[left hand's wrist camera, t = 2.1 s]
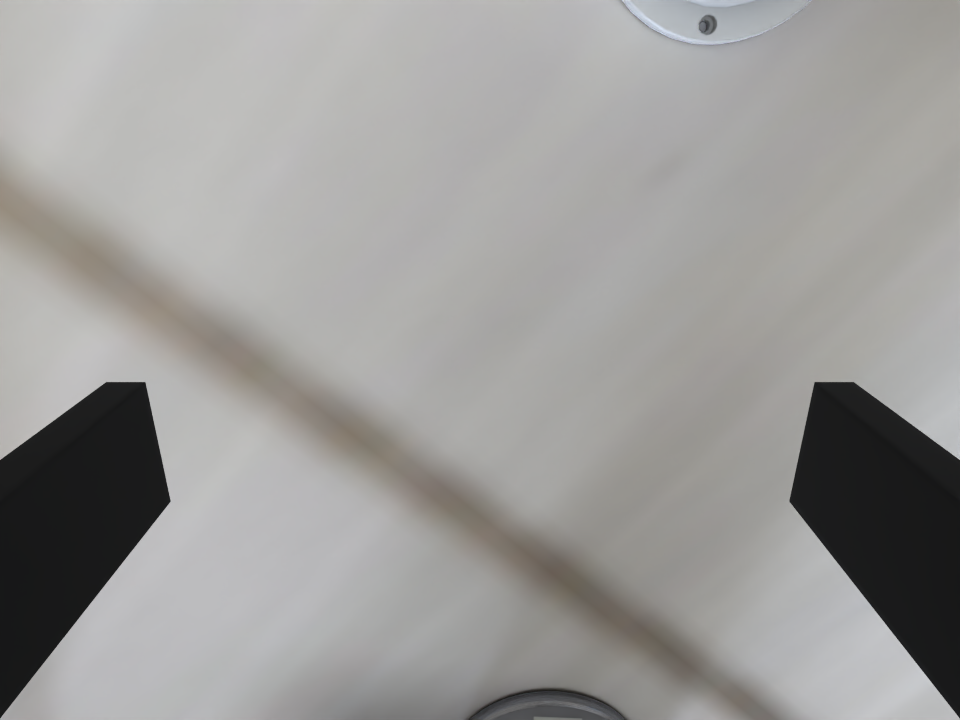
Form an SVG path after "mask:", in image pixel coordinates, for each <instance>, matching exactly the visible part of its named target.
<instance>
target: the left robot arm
mask: <svg viewBox="0 0 960 720" xmlns="http://www.w3.org/2000/svg"><path fill="white" fill-rule="evenodd" d="M169 503H170V497H169V492H168V487H167V482H166V478H165V473H164V468H163V463H162V459H161V454H160V449H159V445H158V440H157V435H156V430H155V426H154V421H153V416H152V411H151V407H150V402H149V397H148V393H147V388H146V383H145V382H106V383H105V384H103V385H102V386H100V387H99V388H98V389H96V390H95V391H94V392H92V393H91V394H90V395H88V396H87V397H86V398H84V399H83V400H81V401H80V402H79V403H77V404H76V405H75V406H73V407H72V408H71V409H69V410H68V411H66V412H65V413H64V414H62V415H61V416H60V417H58V418H57V419H56V420H54V421H53V422H51V423H50V424H49V425H47V426H46V427H45V428H43V429H42V430H41V431H39V432H38V433H37V434H35V435H34V436H32V437H31V438H30V439H28V440H27V441H26V442H24V443H23V444H22V445H20V446H19V447H17V448H16V449H15V450H13V451H12V452H11V453H9V454H8V455H7V456H5V457H4V458H2V459H1V460H0V718H1V716H2V715H3V714H4V713H5V711H6V710H7V709H8V708H9V706H10V705H11V704H12V702H13V701H14V700H15V699H16V697H17V696H18V695H19V694H20V692H21V691H22V690H23V688H24V687H25V686H26V685H27V683H28V682H29V681H30V680H31V678H32V677H33V676H34V675H35V673H36V672H37V671H38V669H39V668H40V667H41V666H42V664H43V663H44V662H45V661H46V659H47V658H48V657H49V655H50V654H51V653H52V652H53V650H54V649H55V648H56V647H57V645H58V644H59V643H60V641H61V640H62V639H63V638H64V636H65V635H66V634H67V633H68V631H69V630H70V629H71V627H72V626H73V625H74V624H75V622H76V621H77V620H78V619H79V617H80V616H81V615H82V613H83V612H84V611H85V610H86V608H87V607H88V606H89V605H90V603H91V602H92V601H93V599H94V598H95V597H96V596H97V594H98V593H99V592H100V591H101V589H102V588H103V587H104V585H105V584H106V583H107V582H108V580H109V579H110V578H111V577H112V575H113V574H114V573H115V571H116V570H117V569H118V568H119V566H120V565H121V564H122V563H123V561H124V560H125V559H126V557H127V556H128V555H129V554H130V552H131V551H132V550H133V549H134V547H135V546H136V545H137V543H138V542H139V541H140V540H141V538H142V537H143V536H144V535H145V533H146V532H147V531H148V529H149V528H150V527H151V526H152V524H153V523H154V522H155V521H156V519H157V518H158V517H159V515H160V514H161V513H162V512H163V510H164V509H165V508H166V507H167V505H168V504H169ZM790 503H791V504H792V505H793V507H794V508H795V509H796V510H797V512H798V513H799V514H800V515H801V517H802V518H803V519H804V521H805V522H806V523H807V524H808V526H809V527H810V528H811V529H812V531H813V532H814V533H815V535H816V536H817V537H818V538H819V540H820V541H821V542H822V543H823V545H824V546H825V547H826V549H827V550H828V551H829V552H830V554H831V555H832V556H833V557H834V559H835V560H836V561H837V563H838V564H839V565H840V566H841V568H842V569H843V570H844V571H845V573H846V574H847V575H848V577H849V578H850V579H851V580H852V582H853V583H854V584H855V585H856V587H857V588H858V589H859V591H860V592H861V593H862V594H863V596H864V597H865V598H866V599H867V601H868V602H869V603H870V605H871V606H872V607H873V608H874V610H875V611H876V612H877V613H878V615H879V616H880V617H881V619H882V620H883V621H884V622H885V624H886V625H887V626H888V627H889V629H890V630H891V631H892V633H893V634H894V635H895V636H896V638H897V639H898V640H899V641H900V643H901V644H902V645H903V647H904V648H905V649H906V650H907V652H908V653H909V654H910V655H911V657H912V658H913V659H914V661H915V662H916V663H917V664H918V666H919V667H920V668H921V669H922V671H923V672H924V673H925V675H926V676H927V677H928V678H929V680H930V681H931V682H932V683H933V685H934V686H935V687H936V688H937V690H938V691H939V692H940V694H941V695H942V696H943V697H944V699H945V700H946V701H947V702H948V704H949V705H950V706H951V708H952V709H953V710H954V711H955V713H956V714H957V715H958V716H959V718H960V460H959V459H958V458H956V457H955V456H953V455H952V454H951V453H949V452H948V451H947V450H945V449H944V448H943V447H941V446H940V445H938V444H937V443H936V442H934V441H933V440H932V439H930V438H929V437H928V436H926V435H925V434H923V433H922V432H921V431H919V430H918V429H917V428H915V427H914V426H913V425H911V424H910V423H909V422H907V421H906V420H904V419H903V418H902V417H900V416H899V415H898V414H896V413H895V412H894V411H892V410H891V409H889V408H888V407H887V406H885V405H884V404H883V403H881V402H880V401H879V400H877V399H876V398H874V397H873V396H872V395H870V394H869V393H868V392H866V391H865V390H864V389H862V388H861V387H860V386H858V385H857V384H855V383H854V382H815V383H814V388H813V393H812V397H811V402H810V407H809V411H808V416H807V421H806V426H805V430H804V435H803V440H802V445H801V449H800V454H799V459H798V463H797V468H796V473H795V478H794V482H793V487H792V492H791V497H790ZM470 720H625V719H624V718H623V717H622V716H621V715H620V714H619V713H618V712H616V711H615V710H614V709H612V708H611V707H609V706H607V705H605V704H604V703H602V702H600V701H597V700H595V699H592V698H589V697H586V696H583V695H579V694H575V693H569V692H560V691H538V692H530V693H524V694H519V695H515V696H511V697H508V698H505V699H503V700H500V701H498V702H495V703H493V704H491V705H489V706H488V707H486V708H484V709H483V710H481V711H480V712H478V713H477V714H476V715H475V716H473V717H472V718H471V719H470Z"/></svg>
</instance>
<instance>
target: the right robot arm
mask: <svg viewBox="0 0 960 720" xmlns="http://www.w3.org/2000/svg"><path fill="white" fill-rule="evenodd" d="M622 1H623V3H624V4H625V5H626V6H627V8H628V9H629V10H630V11H631V12H632V13H633V14H634V15H635V16H636V17H638V18H639V19H640V20H641V21H642V22H644V23H645V24H646V25H647V26H648V27H650V28H652V29H654V30H656V31H657V32H659V33H661V34H663V35H665V36H667V37H669V38H672V39H676V40H680V41H683V42H687V43H691V44H708V45H718V44H724V43H730V42H736V41H741V40H744V39H747V38H750V37H754V36H757V35H760V34H762V33H764V32H766V31H768V30H770V29H772V28H774V27H776V26H778V25H780V24H782V23H784V22H785V21H787V20H788V19H789V18H791V17H792V16H793V15H795V14H796V13H797V12H799V11H800V10H802V9H803V8H804V7H806V6H807V5H808V3H809V2H810V1H811V0H622ZM701 21H704V22H705V23H706V24H707V29H706V31H705V32H701V31H700V29H699V24H700V22H701Z"/></svg>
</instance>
